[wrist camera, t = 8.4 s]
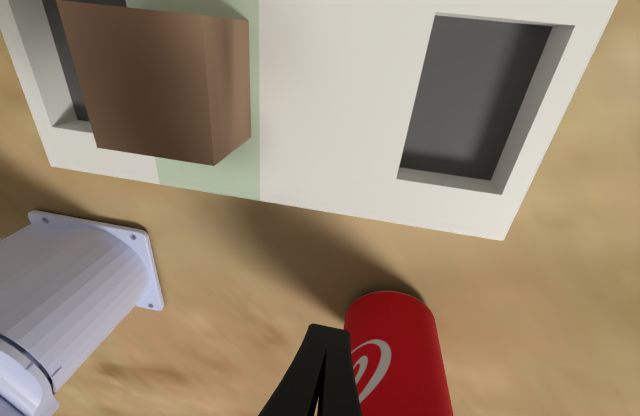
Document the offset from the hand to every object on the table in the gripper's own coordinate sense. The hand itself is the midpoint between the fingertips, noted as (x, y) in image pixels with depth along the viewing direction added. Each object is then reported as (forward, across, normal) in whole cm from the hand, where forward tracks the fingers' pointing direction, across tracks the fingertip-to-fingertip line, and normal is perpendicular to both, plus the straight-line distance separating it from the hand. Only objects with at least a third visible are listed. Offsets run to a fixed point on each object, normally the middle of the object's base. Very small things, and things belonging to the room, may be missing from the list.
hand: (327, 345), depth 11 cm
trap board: (+9, +5, -7) cm, 13 cm away
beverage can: (+10, -4, +8) cm, 13 cm away
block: (+7, +8, -7) cm, 13 cm away
